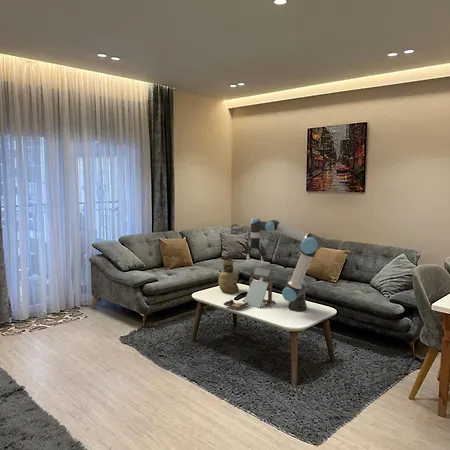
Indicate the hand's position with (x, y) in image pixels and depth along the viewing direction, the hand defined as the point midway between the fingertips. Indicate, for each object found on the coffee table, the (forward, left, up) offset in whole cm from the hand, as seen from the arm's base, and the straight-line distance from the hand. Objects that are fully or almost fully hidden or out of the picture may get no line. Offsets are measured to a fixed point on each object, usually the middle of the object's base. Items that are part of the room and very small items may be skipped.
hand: (254, 262), depth 331 cm
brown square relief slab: (+11, +4, -35) cm, 37 cm away
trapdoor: (+1, -10, -25) cm, 27 cm away
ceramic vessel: (+41, -21, -37) cm, 59 cm away
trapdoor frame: (+1, -11, -37) cm, 38 cm away
